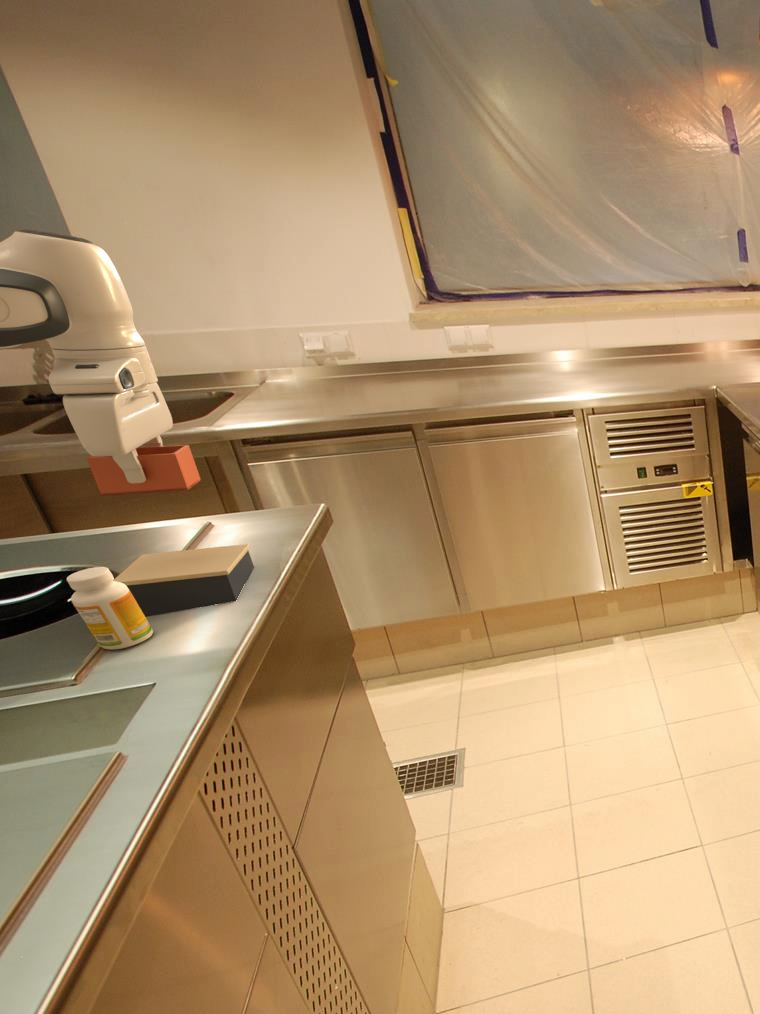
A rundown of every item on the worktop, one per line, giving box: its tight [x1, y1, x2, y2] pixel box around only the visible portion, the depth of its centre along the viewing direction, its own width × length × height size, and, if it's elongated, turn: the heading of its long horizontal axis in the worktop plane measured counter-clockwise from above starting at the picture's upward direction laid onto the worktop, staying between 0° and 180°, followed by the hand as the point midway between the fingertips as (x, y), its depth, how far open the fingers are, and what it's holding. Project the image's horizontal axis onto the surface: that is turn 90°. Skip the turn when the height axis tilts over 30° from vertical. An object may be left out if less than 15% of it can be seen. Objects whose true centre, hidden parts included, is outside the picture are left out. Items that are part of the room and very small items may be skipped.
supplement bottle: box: [66, 566, 154, 650], centre depth 107 cm, size 5×5×10 cm
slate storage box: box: [113, 543, 255, 618], centre depth 121 cm, size 13×13×6 cm
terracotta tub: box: [86, 444, 202, 497], centre depth 114 cm, size 9×6×5 cm, turn 116°
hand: (148, 475), depth 114 cm, fingers closed on terracotta tub, 6 cm apart
